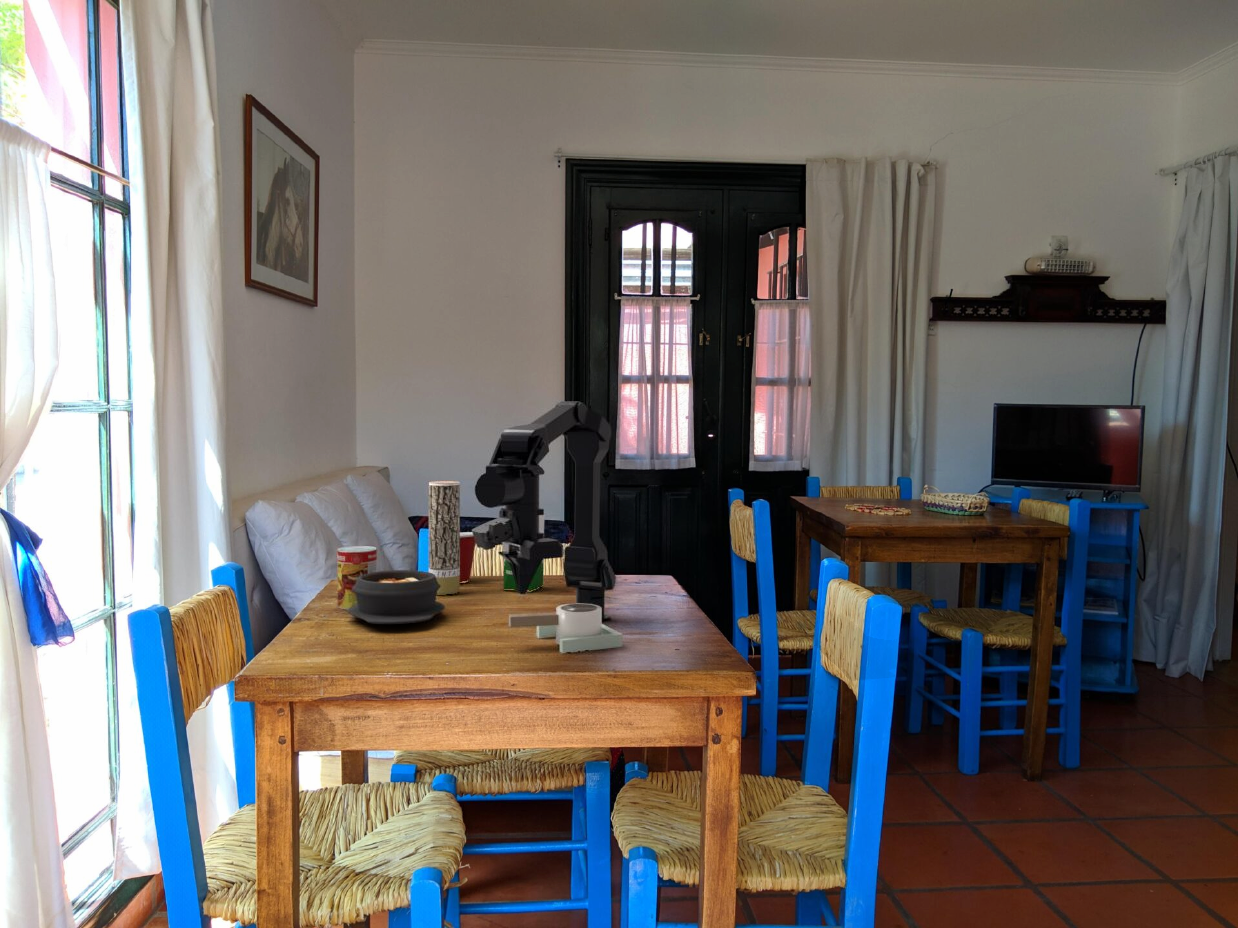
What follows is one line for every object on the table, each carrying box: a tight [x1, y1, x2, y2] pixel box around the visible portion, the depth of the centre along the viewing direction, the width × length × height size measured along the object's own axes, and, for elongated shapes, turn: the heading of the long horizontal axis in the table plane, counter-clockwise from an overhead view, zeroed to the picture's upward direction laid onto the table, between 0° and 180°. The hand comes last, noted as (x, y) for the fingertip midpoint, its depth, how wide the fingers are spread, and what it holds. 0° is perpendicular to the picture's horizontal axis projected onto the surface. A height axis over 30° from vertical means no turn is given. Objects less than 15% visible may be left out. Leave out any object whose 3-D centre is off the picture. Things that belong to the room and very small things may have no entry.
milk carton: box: [502, 510, 546, 591], centre depth 206 cm, size 9×9×20 cm
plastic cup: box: [460, 531, 477, 582], centre depth 214 cm, size 11×11×12 cm
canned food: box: [336, 545, 378, 610], centre depth 186 cm, size 8×8×12 cm
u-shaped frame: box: [536, 623, 623, 654], centre depth 158 cm, size 12×11×2 cm
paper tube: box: [428, 480, 461, 596], centre depth 200 cm, size 7×7×25 cm
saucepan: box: [508, 602, 603, 646], centre depth 156 cm, size 16×8×6 cm, turn 105°
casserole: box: [347, 569, 446, 625], centre depth 175 cm, size 25×19×8 cm
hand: (522, 593), depth 152 cm, fingers closed
